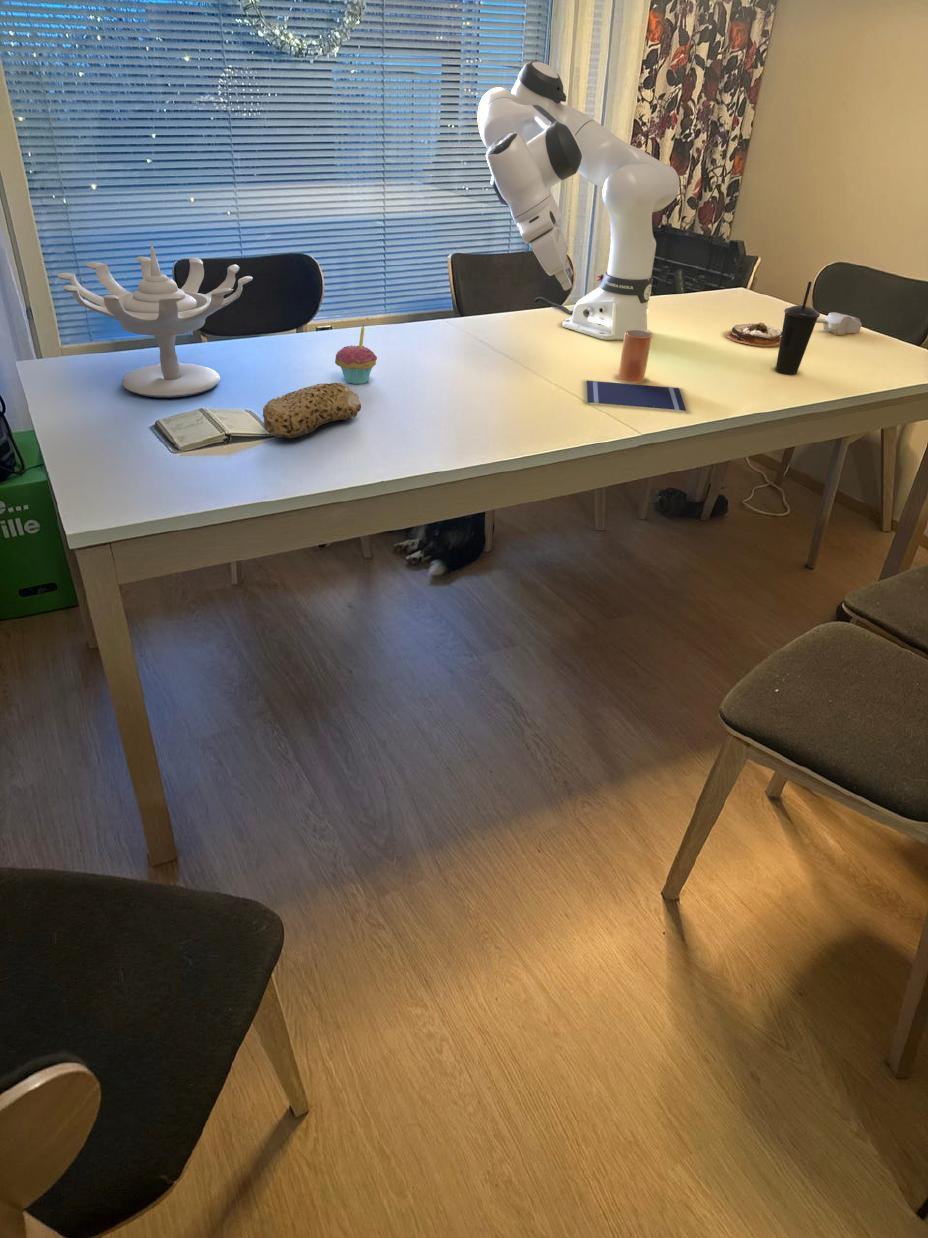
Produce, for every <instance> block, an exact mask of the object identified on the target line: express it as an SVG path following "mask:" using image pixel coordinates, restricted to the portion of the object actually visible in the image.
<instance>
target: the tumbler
mask: <svg viewBox="0 0 928 1238" xmlns="http://www.w3.org/2000/svg"><path fill="white" fill-rule="evenodd" d="M652 337H653V335H652V333H650V332H649V331H648V332H645V331H640V330H629V331H626V332H625V335H624V340H622V341H623V342H622V348H621V354H620V362H619V367H618V375H617V378H618V379H619V380H621V381H624V382H626V383H627V382H628V383H642V382H644V381H645V378H646V373H647V367H648V360H649V354H650V349H651V343H652Z"/></svg>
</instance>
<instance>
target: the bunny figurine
mask: <svg viewBox="0 0 928 1238" xmlns="http://www.w3.org/2000/svg"><path fill="white" fill-rule="evenodd" d="M815 324H823V325H822V326H823V330H825V332H826V333H830V332H831V333H833V335H835V336H838V335H845V334H846V333H847V334H848V333H850V334H855V333H859V332H860V331H861V327H862V326H863V325H862V322H861V319H860V318H859V317H855V316H851V315H848V314H843V313H839V312H834V311H832V312H831V311H830V312H829V313H828V315H827V316H826V318H825V319H824V318H820V317H818V318H817V321H816V323H815Z"/></svg>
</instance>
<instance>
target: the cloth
mask: <svg viewBox="0 0 928 1238" xmlns="http://www.w3.org/2000/svg"><path fill="white" fill-rule="evenodd" d="M586 396H587V397H586V398H587V399H586V400H587V403H589V404H601V405H613V406H625V407H637V408H648V409H660V410H671V411H685V412H686V411H687V408H686V405H685V402H684V399H683V395H682V394H681V389H680V388H679V387H672V386H661V385H660V386H658V385H646V384H634V383H623V382H622V383H621V382H609V381H597V380H586Z"/></svg>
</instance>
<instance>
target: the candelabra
mask: <svg viewBox="0 0 928 1238" xmlns="http://www.w3.org/2000/svg"><path fill="white" fill-rule="evenodd" d="M155 251H156V250H155V248H154V245H153V242H152V241H150V257H147V256H141V255H140V256H137V257H135V261H137V262H138V263H139V264H140V270H141V278H142V279H141V280H140V281H139V283H138V286H137V288H138V289H136V290H135V291H132V292H131V291H129V290H127V289H125V288H124V287H123V286H121V285H120V283H118V282H117V281H116V280H115V279H114V277H113V275H112V273H111V271H110V268H109V266H108V265H107V264H105V263H102V262H96V261H89V262H87V263H85V264H84V266H86V267H87V268H89V269H92V270H95V273H96V277H97V280H98V282H99V283H100V284H101V285H102V286H103V287H104V288H105V289H106V290H107V291H108V292H109V293H110V294H104V295H103V296H101V295H98V294H96V293H93V292H92V291H90V290H88V289H87V288H85V287H83V286H82V285H81V283H80V282H79V281H78V279H77V276H76V273H71V272H60V273H58V274H56V276H57V278H58V279H60V280H64V281H70V284H69V285H68V284H67V285H64V286H62V289H63V290H64V291H65V292H68V293H72V297H73V298H74V300H75V301H76V302H77V303H78V304H79V305H80V306H82V307H84V308H87V309H89V310H90V311H93V312H96V313H98V314H101V315H104V316H107V317H109V318H112V319H114V320H116V321H118V323H119V324H120V326H121V328H122V329H123V330H125V331H126V332H129V333H132V334H137V335H141V336H142V335H144V336H153V337H154V338H155V341H156V343H157V345H158V348H159V361H160V363H157V364H152V365H146V366H143V367H139V368H136V369H133V371H131V372H129V373H127V374H126V375H125V376H124V377H123V378H122V386H123V388H124V389H126V390H127V391H129V392H130V393H133V394H137V395H140V396H144V397H151V398H167V399H168V398H170V399H171V398H181V397H188V396H193V395H194V396H195V395H198V394H202V393H204V392H208V391H210V390H212V389H213V388H215V387H216V386H218V384H219V382H220V380H221V377H220V374H219V373H218V372H217V370H214V369H212V368H211V367H207V366H204V365H202V364H201V365H200V364H195V363H189V362H187V363H186V362H179V360H178V359H179V358H178V354H177V351H176V339H177V335H183V334H188V333H192V332H195V331H197V330H200V329H201V328H203V327H204V325H205V323H206V319H207V318H208V317H209V316H210V315H212V314H214V313H215V312H217V311H219V310H221V309H223V308H225V307H226V306H228V305H230V304H231V303H233V302H234V301H235V300H237V299H239V298H240V297H241V295H242V292H243V285H246V284H248V283H249V282H251V281H253V279H254V278H253V277H252V276H251V275H247V276H243V277H241V278H239V279H238V280H237V288H236V290H235V292H233V291H234V286H235V283H236V274H237V273H238V272H239V270H240V266H239V265H237V264H231V265H229V266H228V267H227V268H226V269H227V274H226V277H225V279H224V280H223V282H222V283H221V284H220V285H218V287H216V288H215V289H213V290H211V291H209V292H207V293H201V292H200V293H199V289H200V287H201V284H202V282H203V280H204V277H205V268H204V261H203V260H202V259H201V258H199V257H195V256H194V257H190V258H189V259H188V261H189V272H188V277H187V279H186V280H185V283H184V285H182V287H181V288H178V284H177V282H176V281H175V280H173V279H172V278H169V277H168V276H167V274H164V273H162V271H161V269H160V265H159V262H158V261H159V260H158V258H157V255H156V252H155ZM232 292H233V293H232ZM231 293H232V294H231ZM228 294H230V295H228ZM225 295H228V296H227V297H225V298H224V296H225Z"/></svg>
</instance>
